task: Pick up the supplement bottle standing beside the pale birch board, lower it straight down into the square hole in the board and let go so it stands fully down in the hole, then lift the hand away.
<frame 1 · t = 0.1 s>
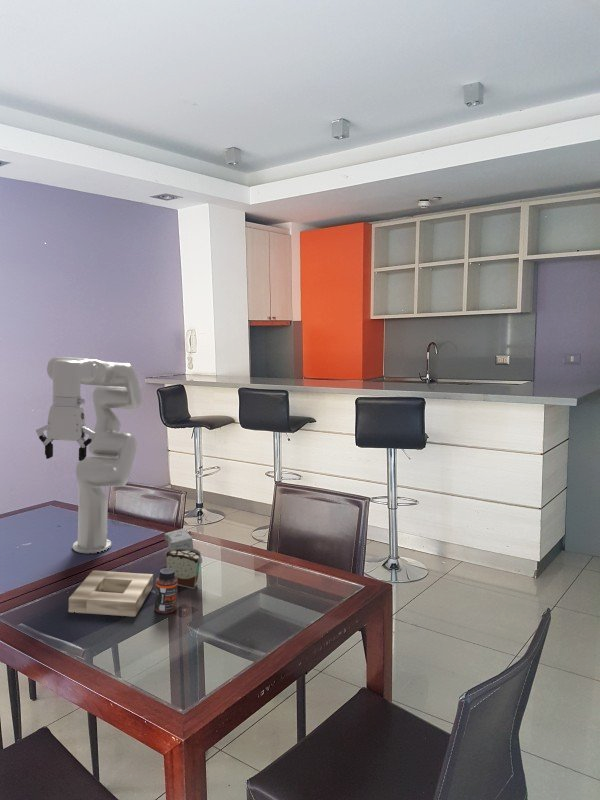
hand: (65, 458, 174), 37 cm above the table, tool pointing down, fingers open, 9 cm apart
food container: (185, 582, 181), on the table
supplement bottle: (165, 610, 163), on the table
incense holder: (178, 564, 194), on the table
socket board: (112, 598, 167), on the table
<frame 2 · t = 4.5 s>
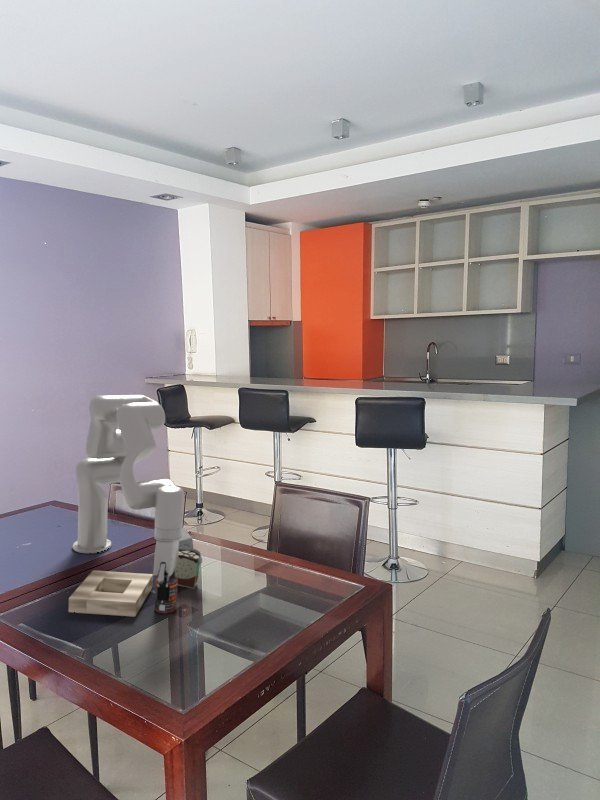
hand: (166, 593, 162), 5 cm above the table, tool pointing down, fingers closed on supplement bottle, 6 cm apart
supplement bottle: (165, 610, 163), on the table, touching gripper
everything else where it was.
when the fingers open (6 cm above the table, at t = 10.5 s): supplement bottle drops 1 cm, resting in socket board.
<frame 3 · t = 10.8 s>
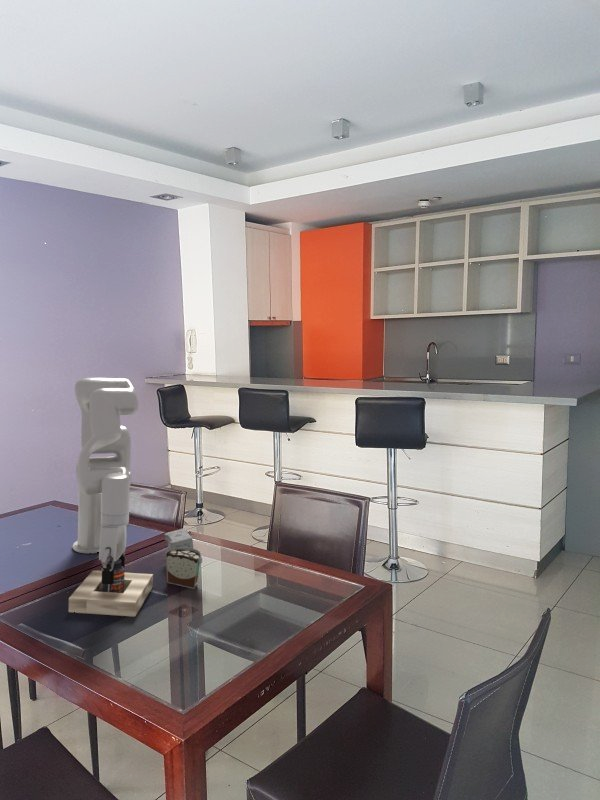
hand: (113, 576, 166), 7 cm above the table, tool pointing down, fingers open, 9 cm apart
supplement bottle: (112, 599, 167), resting in socket board
everything else where it was.
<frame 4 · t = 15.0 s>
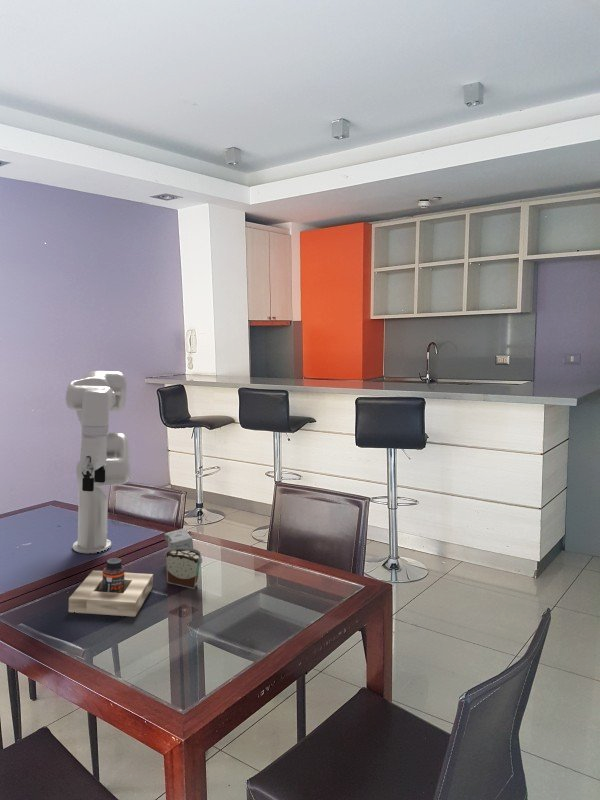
hand: (94, 486, 177), 28 cm above the table, tool pointing down, fingers open, 9 cm apart
nothing on the table moved.
at the end: supplement bottle 0.3 cm off-centre on the socket board, point 0.0 cm above the socket board's base; supplement bottle tilted 0°; the gripper is holding nothing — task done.
